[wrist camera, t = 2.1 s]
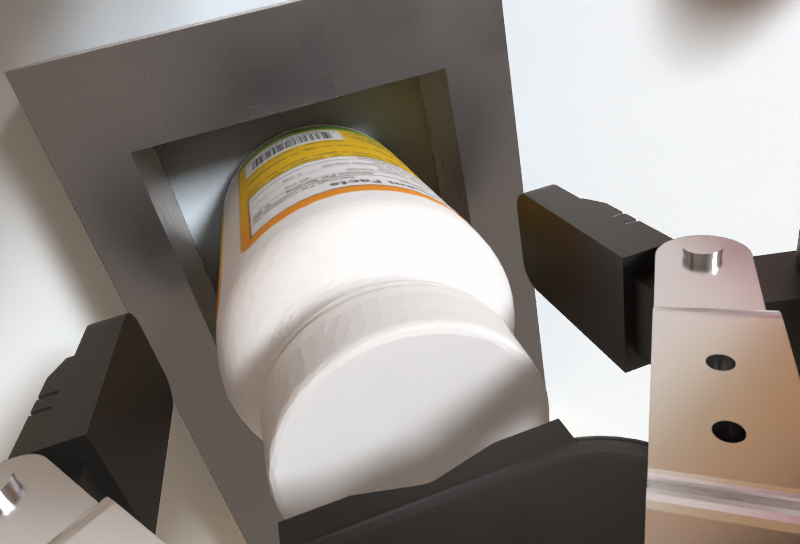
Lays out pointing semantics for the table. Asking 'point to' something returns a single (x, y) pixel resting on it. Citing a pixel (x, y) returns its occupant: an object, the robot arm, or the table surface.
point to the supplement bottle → (362, 322)
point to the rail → (244, 101)
